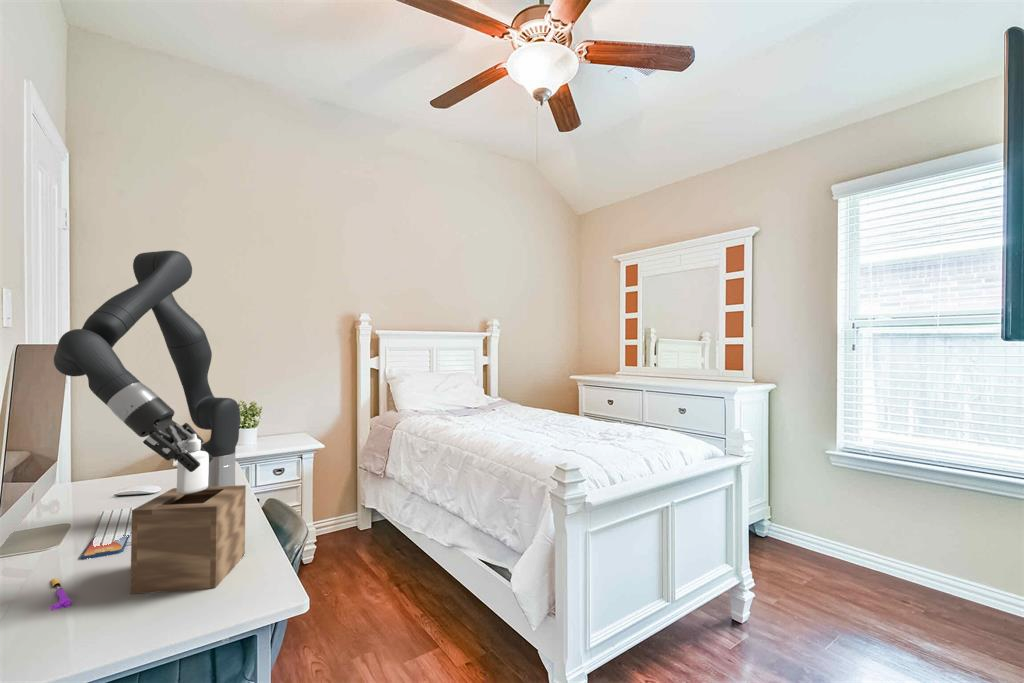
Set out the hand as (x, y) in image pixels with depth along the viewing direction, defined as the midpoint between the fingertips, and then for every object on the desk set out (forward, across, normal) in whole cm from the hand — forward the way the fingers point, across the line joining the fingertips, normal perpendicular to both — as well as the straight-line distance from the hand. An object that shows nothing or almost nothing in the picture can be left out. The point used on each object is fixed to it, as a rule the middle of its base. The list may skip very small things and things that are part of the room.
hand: (202, 464), depth 101 cm
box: (+15, 0, +17) cm, 23 cm away
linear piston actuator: (0, -5, +33) cm, 33 cm away
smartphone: (-4, +19, +37) cm, 42 cm away
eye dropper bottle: (+3, 0, +5) cm, 6 cm away
